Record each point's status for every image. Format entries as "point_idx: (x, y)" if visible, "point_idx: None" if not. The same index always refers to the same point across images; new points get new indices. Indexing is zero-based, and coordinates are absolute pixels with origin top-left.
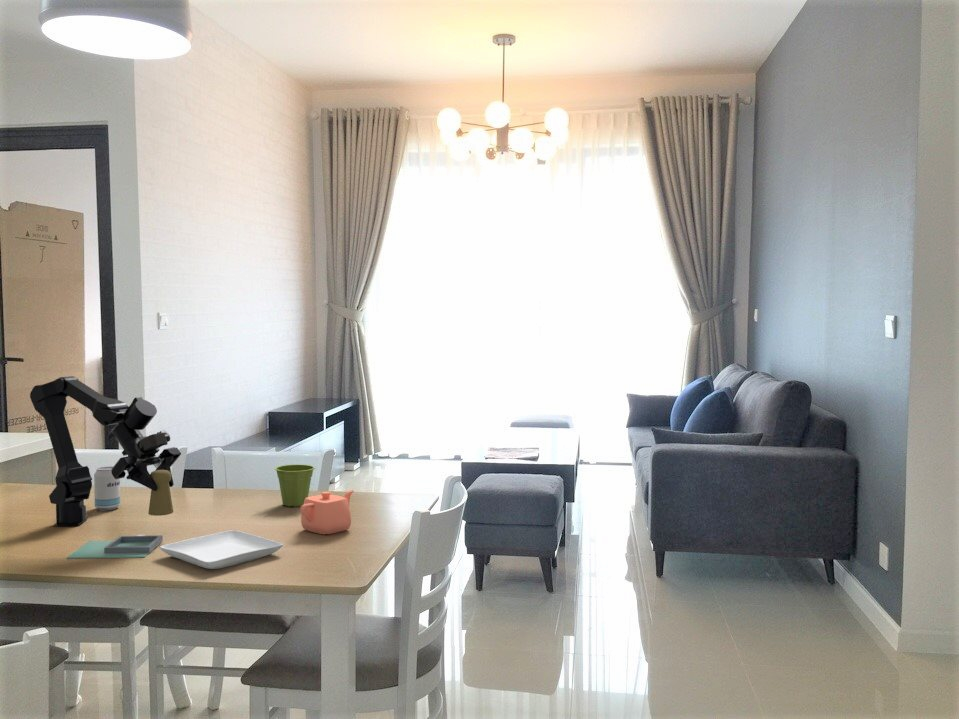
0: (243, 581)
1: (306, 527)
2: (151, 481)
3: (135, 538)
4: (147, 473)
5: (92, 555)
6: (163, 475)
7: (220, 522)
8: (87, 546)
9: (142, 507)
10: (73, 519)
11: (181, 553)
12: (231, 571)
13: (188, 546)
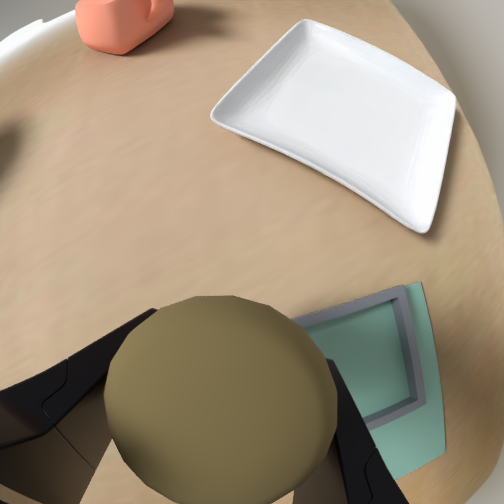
0: (434, 66)
1: (141, 38)
2: (358, 412)
3: None
4: (370, 487)
5: (433, 413)
6: (300, 332)
7: (45, 253)
8: None
9: None
10: None
11: (447, 153)
12: None
13: (357, 184)
